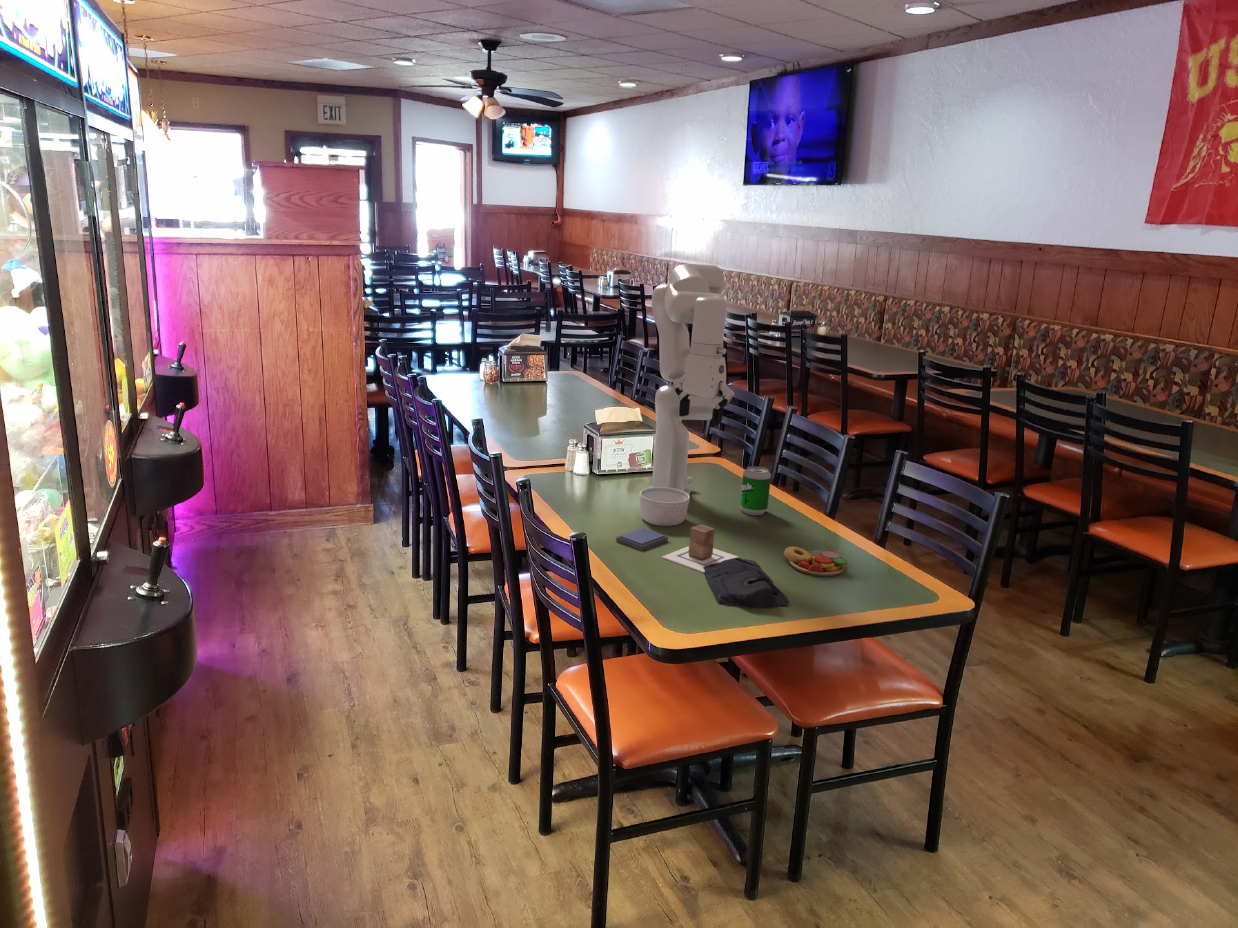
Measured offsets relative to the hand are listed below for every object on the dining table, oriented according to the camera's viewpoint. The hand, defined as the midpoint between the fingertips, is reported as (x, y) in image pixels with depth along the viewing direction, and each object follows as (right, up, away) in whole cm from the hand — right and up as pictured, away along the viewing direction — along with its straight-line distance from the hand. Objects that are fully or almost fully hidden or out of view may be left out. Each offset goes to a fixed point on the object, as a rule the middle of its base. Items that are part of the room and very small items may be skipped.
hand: (699, 419), depth 215 cm
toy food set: (+26, -35, -8) cm, 45 cm away
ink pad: (-14, -29, 0) cm, 33 cm away
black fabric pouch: (+7, -38, -23) cm, 45 cm away
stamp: (-1, -32, -8) cm, 33 cm away
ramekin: (-8, -25, +17) cm, 32 cm away
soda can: (+17, -24, +28) cm, 41 cm away
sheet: (-1, -33, -8) cm, 34 cm away
